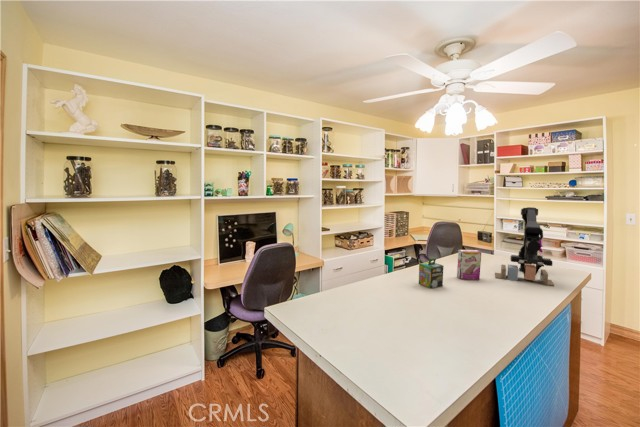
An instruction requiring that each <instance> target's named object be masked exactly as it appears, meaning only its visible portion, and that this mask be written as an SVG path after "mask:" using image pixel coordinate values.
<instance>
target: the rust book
mask: <svg viewBox="0 0 640 427" xmlns="http://www.w3.org/2000/svg"><path fill="white" fill-rule="evenodd" d="M536 276H537V274H536V264H525V275H524V274H523V277H524V279H525V280H529V281H536Z"/></svg>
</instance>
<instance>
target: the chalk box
mask: <svg viewBox="0 0 640 427" xmlns="http://www.w3.org/2000/svg"><path fill="white" fill-rule="evenodd" d="M436 261H437V258H430V259H429V260H428V261H425V262H421V263H419V265H418V284H419V285H422V286H424V287H427V288H428V289H435V288H439V287H443V286H444V285H443V283H444V264H439V263H437V262H436Z"/></svg>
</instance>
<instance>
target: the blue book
mask: <svg viewBox="0 0 640 427" xmlns="http://www.w3.org/2000/svg"><path fill="white" fill-rule="evenodd" d="M506 274H507V276H506V278H507V280H509V281H510V280H511V281H515V282H518V278H519V267H518V265H516V264H507V272H506Z"/></svg>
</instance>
